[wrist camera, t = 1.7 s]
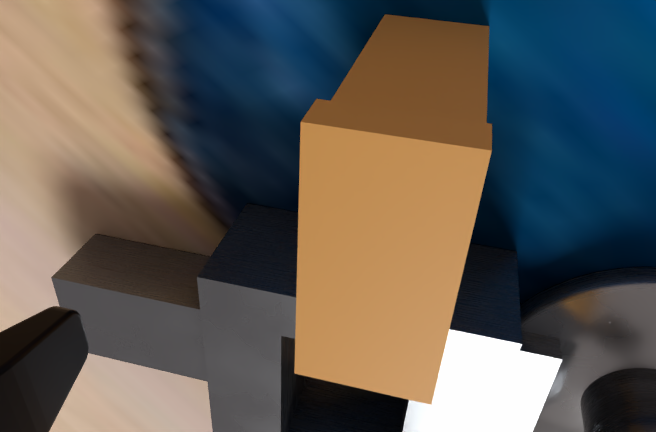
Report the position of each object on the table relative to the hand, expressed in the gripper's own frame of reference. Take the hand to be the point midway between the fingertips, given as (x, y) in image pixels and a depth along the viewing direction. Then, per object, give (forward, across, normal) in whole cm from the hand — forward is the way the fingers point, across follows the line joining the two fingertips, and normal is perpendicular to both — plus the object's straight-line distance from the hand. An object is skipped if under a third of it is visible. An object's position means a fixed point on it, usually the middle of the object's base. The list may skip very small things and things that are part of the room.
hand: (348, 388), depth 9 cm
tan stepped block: (+11, 0, 0) cm, 11 cm away
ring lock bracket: (+11, -1, +10) cm, 15 cm away
